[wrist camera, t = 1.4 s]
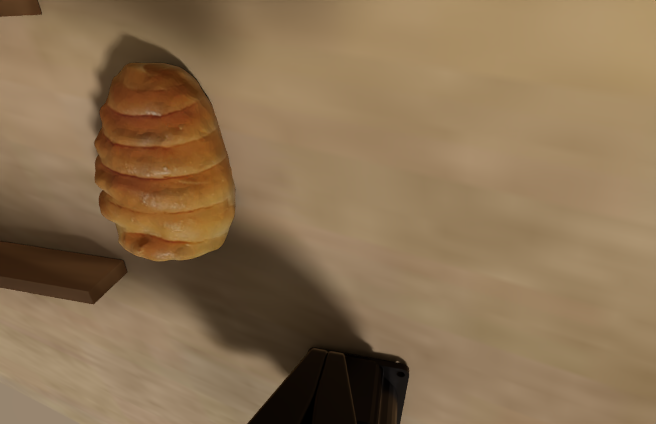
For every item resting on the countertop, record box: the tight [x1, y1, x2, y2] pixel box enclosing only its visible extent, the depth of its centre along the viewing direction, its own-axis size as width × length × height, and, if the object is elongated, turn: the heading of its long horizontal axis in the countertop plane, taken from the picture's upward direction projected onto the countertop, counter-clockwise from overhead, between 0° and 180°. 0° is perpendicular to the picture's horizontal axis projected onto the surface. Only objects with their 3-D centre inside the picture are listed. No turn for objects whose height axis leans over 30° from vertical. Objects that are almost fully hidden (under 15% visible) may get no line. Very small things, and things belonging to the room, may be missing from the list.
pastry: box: [94, 63, 235, 261], centre depth 18 cm, size 9×7×4 cm
